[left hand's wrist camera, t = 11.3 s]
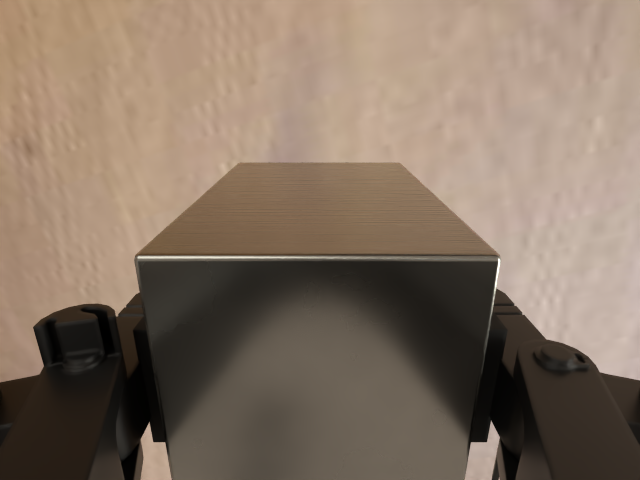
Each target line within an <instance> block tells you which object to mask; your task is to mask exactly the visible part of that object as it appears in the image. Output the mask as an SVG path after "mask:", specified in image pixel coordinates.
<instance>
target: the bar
mask: <svg viewBox="0 0 640 480" xmlns="http://www.w3.org/2000/svg"><path fill="white" fill-rule="evenodd" d="M500 263H501V258H500V255H499V254H498V253H497V252H496V251H495V250H494V249H493V248H491V247H490V246H489V245H488V244H487V243H486V242H485V241H484V240H483V239H482V238H481V237H480V236H478V235H477V234H476V233H475V232H474V231H473V230H472V229H471V228H470V227H469V226H468V225H467V224H465V223H464V222H463V221H462V220H461V219H460V218H459V217H458V216H457V215H456V214H455V213H454V212H452V211H451V210H450V209H449V208H448V207H447V206H446V205H445V204H444V203H443V202H442V201H441V200H439V199H438V198H437V197H436V196H435V195H434V194H433V193H432V192H431V191H430V190H429V189H428V188H426V187H425V186H424V185H423V184H422V183H421V182H420V181H419V180H418V179H417V178H416V177H415V176H413V175H412V174H411V173H410V172H409V171H408V170H407V169H406V168H405V167H404V166H403V165H402V164H400V163H238V164H237V165H236V166H235V167H234V168H233V169H231V170H230V171H229V172H228V173H227V174H226V175H225V176H224V177H222V178H221V179H220V180H219V181H218V182H217V183H216V184H215V185H213V186H212V187H211V188H210V189H209V190H208V191H207V192H206V193H205V194H203V195H202V196H201V197H200V198H199V199H198V200H197V201H196V202H194V203H193V204H192V205H191V206H190V207H189V208H188V209H187V210H185V211H184V212H183V213H182V214H181V215H180V216H179V217H178V218H176V219H175V220H174V221H173V222H172V223H171V224H170V225H169V226H167V227H166V228H165V229H164V230H163V231H162V232H161V233H160V234H158V235H157V236H156V237H155V238H154V239H153V240H152V241H151V242H150V243H148V244H147V245H146V246H145V247H144V248H143V249H142V250H141V251H139V252H138V253H137V254H136V256H135V267H136V273H137V278H138V284H139V290H140V296H141V302H142V308H143V314H144V319H145V325H146V331H147V337H148V343H149V349H150V355H151V360H152V366H153V372H154V378H155V384H156V390H157V396H158V402H159V407H160V413H161V419H162V425H163V431H164V437H165V443H166V448H167V454H168V460H169V466H170V472H171V478H172V480H465V474H466V468H467V462H468V456H469V450H470V443H471V437H472V431H473V425H474V419H475V413H476V407H477V401H478V395H479V389H480V383H481V377H482V371H483V365H484V359H485V353H486V347H487V341H488V335H489V329H490V323H491V317H492V311H493V305H494V299H495V293H496V287H497V281H498V275H499V269H500Z"/></svg>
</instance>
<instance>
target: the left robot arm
mask: <svg viewBox="0 0 640 480" xmlns="http://www.w3.org/2000/svg"><path fill="white" fill-rule="evenodd" d="M33 329H34V332H35V336H36V339H37V343H38V346H39V350H40V353H41V357H42V360H43V364H44V367H43V369H42V371H41V373H40V375H36V376H31V377H26V378H21V379H16V380H11V381H6V382H1V383H0V480H140V478H141V471H142V464H143V450H142V445H141V440H140V439H141V437H142V435H143V433H144V431H145V429H146V427H147V425H148V423H149V422H150V426H151V432H152V437H153V442H165V437H164V431H163V425H162V419H161V413H160V407H159V402H158V396H157V390H156V384H155V378H154V372H153V366H152V360H151V355H150V349H149V343H148V337H147V331H146V325H145V319H144V314H143V308H142V302H141V296H140V293H138V294H136V295H135V296H134V297H133V298H132V300H131V301H130V302H129V303H128V304H127V305H126V308H124V309H123V310H122V311H121V312H120V313H119V314H118V317H116V315H115V310H114V309H112V308H111V307H109V306H107V305H102V304H83V305H78V306H73V307H68V308H65V309H62V310H60V311H57V312H54V313H52V314H50V315H49V316H47V317H45V318H43V319H41V320H40V321H39V322H38V323H37V324H36V325H35V326H34V327H33ZM491 421H492V423H493V425H494V427H495V428H496V430H497V432H498V434H499V436H500V440H499V445H498V450H497V455H496V460H495V465H494V470H493V475H492V480H498V479H499V477H500V480H640V381H639V380H634V379H629V378H624V377H619V376H614V375H608V374H604V373H600V372H599V370H598V368H597V367H596V365H595V364H594V363H593V362H592V361H591V359H590V358H589V357H588V356H586V355H585V354H583V353H582V352H580V351H579V350H577V349H575V348H573V347H570V346H568V345H565V344H563V343H559V342H555V341H551V340H546V339H545V338H544V336H543V335H542V334H541V333H540V332H539V331H538V330H537V329H536V328H535V326H534V325H533V324H532V323H531V322H530V321H529V320H528V319H527V318H526V316H525V315H522V312H521V311H520V310H519V309H518V307H517V306H514V303H513V302H512V301H511V300H510V299H509V297H508V296H507V295H506V294H505V293H503V292H502V291H500V290H498V289H496V293H495V299H494V305H493V311H492V317H491V323H490V329H489V335H488V341H487V347H486V353H485V359H484V365H483V371H482V377H481V383H480V389H479V395H478V401H477V407H476V413H475V419H474V425H473V431H472V437H471V442H487V439H488V433H489V428H490V422H491Z"/></svg>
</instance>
